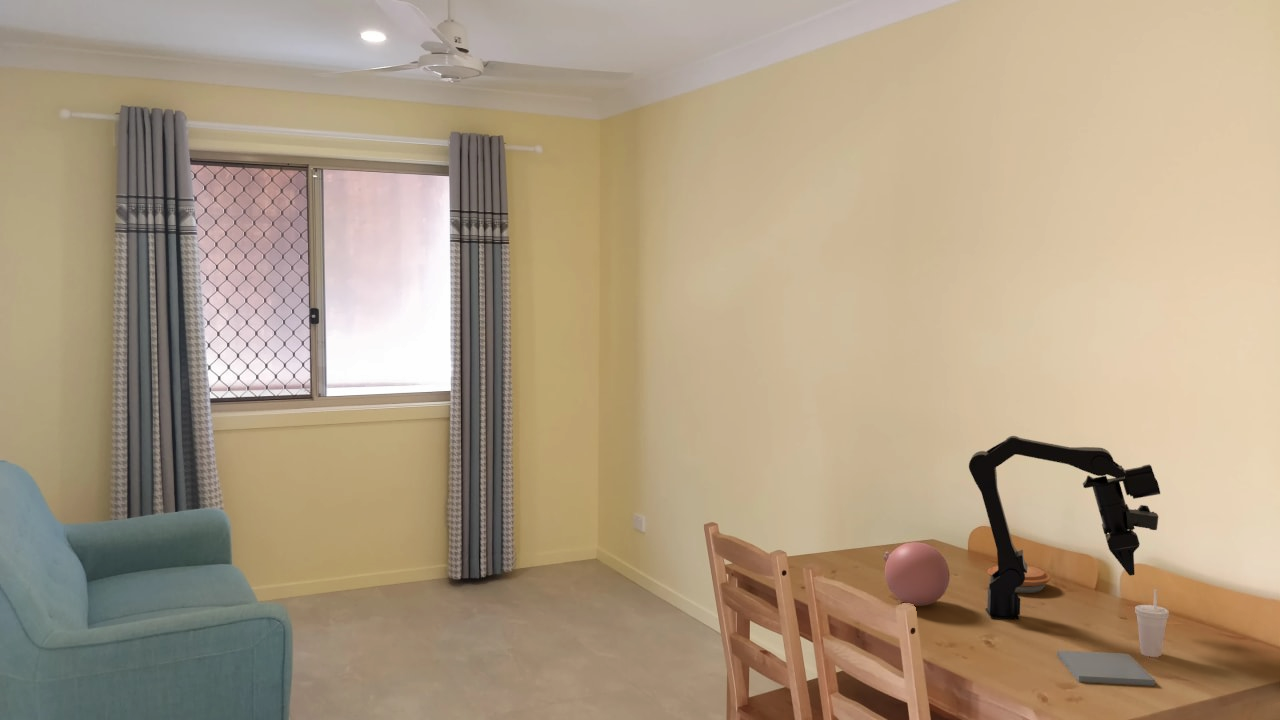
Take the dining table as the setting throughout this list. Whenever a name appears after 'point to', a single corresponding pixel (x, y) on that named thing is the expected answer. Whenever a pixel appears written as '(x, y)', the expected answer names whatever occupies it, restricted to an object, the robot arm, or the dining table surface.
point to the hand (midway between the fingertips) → (1130, 569)
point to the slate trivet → (1105, 668)
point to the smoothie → (1151, 627)
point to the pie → (1029, 579)
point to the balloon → (916, 573)
